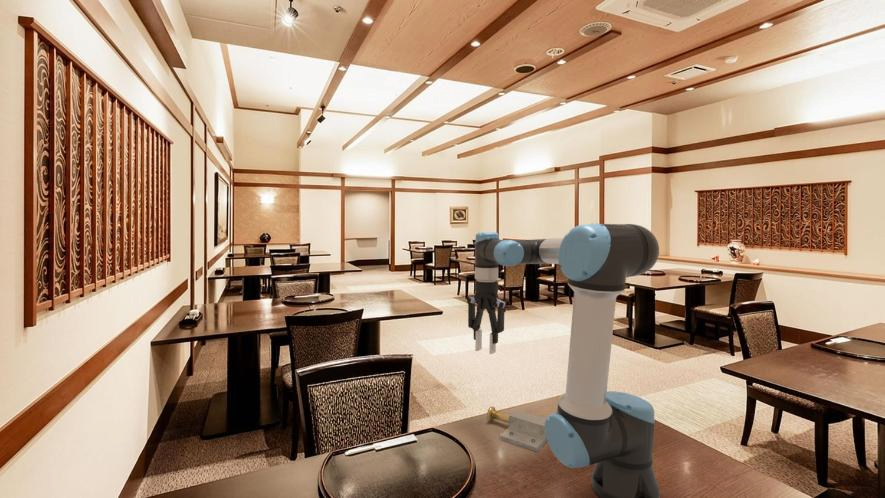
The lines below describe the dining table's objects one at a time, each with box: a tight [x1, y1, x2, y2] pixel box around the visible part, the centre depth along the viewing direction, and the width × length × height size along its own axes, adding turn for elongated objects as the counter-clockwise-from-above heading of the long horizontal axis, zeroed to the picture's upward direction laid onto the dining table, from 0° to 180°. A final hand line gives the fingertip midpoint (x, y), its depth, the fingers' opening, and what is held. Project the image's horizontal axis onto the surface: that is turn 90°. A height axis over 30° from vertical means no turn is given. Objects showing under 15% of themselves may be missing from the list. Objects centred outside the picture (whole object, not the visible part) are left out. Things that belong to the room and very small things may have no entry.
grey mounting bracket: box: [498, 409, 548, 453], centre depth 130 cm, size 12×17×5 cm
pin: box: [486, 406, 510, 424], centre depth 134 cm, size 13×4×4 cm, turn 54°
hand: (485, 351), depth 138 cm, fingers open, 4 cm apart
